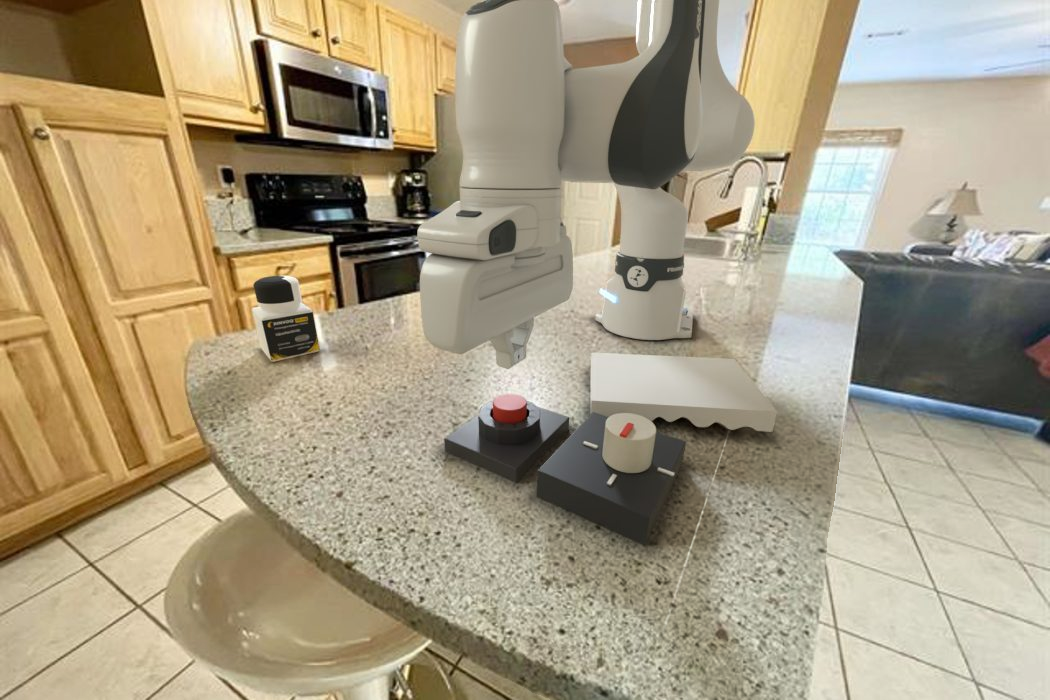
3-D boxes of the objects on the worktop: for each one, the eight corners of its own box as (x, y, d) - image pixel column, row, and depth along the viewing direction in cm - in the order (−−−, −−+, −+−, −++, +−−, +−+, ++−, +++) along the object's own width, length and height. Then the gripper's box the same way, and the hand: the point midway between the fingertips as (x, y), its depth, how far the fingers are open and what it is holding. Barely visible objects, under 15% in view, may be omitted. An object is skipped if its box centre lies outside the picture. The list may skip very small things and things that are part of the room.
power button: (505, 404, 47) (505, 390, 47) (532, 413, 45) (533, 399, 45) (486, 418, 44) (485, 403, 44) (514, 428, 43) (514, 414, 42)
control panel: (590, 434, 47) (592, 410, 46) (684, 466, 42) (689, 440, 41) (536, 497, 38) (537, 468, 37) (648, 548, 33) (653, 517, 32)
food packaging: (590, 425, 50) (770, 438, 47) (591, 400, 48) (777, 411, 46) (590, 373, 63) (730, 380, 61) (591, 352, 62) (734, 358, 59)
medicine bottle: (271, 363, 64) (253, 285, 59) (261, 349, 69) (243, 276, 64) (320, 351, 68) (307, 278, 64) (307, 339, 73) (294, 270, 69)
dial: (612, 438, 41) (616, 405, 40) (656, 453, 39) (662, 418, 38) (594, 462, 38) (598, 426, 36) (643, 480, 36) (648, 442, 34)
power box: (504, 407, 53) (504, 382, 51) (569, 429, 48) (570, 403, 47) (444, 451, 44) (442, 423, 43) (516, 483, 40) (516, 453, 38)
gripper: (539, 212, 47) (537, 327, 53) (399, 231, 31) (417, 394, 37) (591, 215, 44) (583, 338, 49) (465, 239, 28) (473, 416, 34)
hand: (511, 362), depth 43 cm, fingers closed
